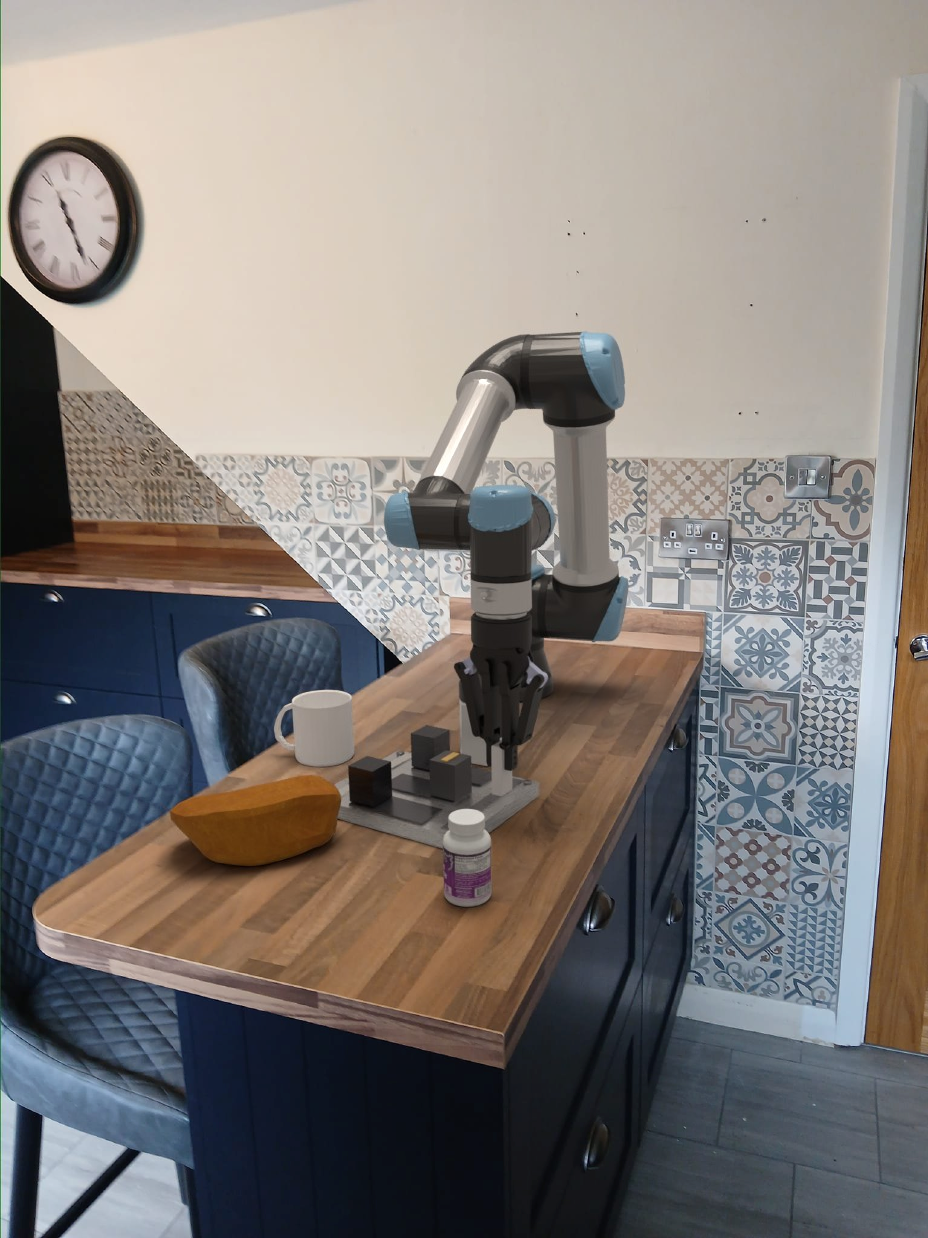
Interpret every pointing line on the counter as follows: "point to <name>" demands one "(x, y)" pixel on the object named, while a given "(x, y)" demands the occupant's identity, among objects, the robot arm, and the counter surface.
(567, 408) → the robot arm
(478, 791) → the panel
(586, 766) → the counter surface
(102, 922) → the counter surface
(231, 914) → the counter surface
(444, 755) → the handle
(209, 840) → the bread
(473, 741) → the jar
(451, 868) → the pill bottle
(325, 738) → the mug
